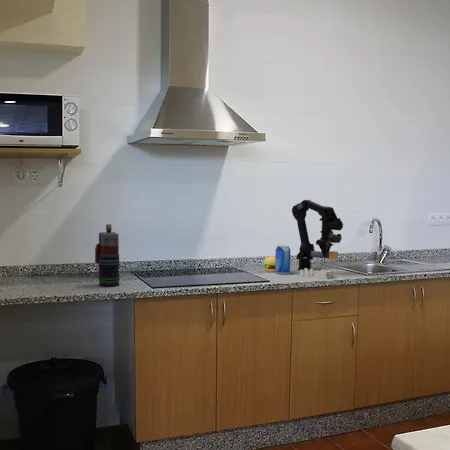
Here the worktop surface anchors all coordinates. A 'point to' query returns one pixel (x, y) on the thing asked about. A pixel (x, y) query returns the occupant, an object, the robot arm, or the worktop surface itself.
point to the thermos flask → (107, 243)
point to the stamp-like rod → (328, 255)
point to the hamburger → (270, 264)
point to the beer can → (282, 260)
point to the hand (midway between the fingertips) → (325, 256)
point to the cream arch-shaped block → (324, 274)
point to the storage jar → (109, 270)
